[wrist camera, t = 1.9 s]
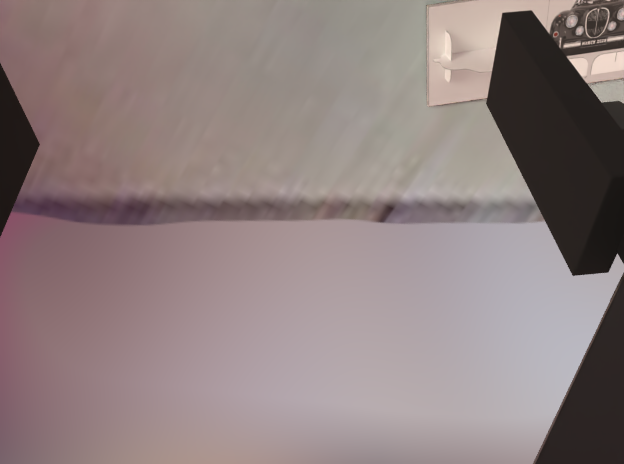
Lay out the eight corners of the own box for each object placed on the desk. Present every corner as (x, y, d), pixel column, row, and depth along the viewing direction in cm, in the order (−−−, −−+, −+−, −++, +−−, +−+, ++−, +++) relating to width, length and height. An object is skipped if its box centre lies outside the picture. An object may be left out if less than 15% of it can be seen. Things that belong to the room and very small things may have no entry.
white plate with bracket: (426, 104, 41) (445, 131, 37) (426, 5, 37) (447, 23, 33) (638, 73, 41) (677, 96, 37) (659, -29, 37) (705, -14, 33)
